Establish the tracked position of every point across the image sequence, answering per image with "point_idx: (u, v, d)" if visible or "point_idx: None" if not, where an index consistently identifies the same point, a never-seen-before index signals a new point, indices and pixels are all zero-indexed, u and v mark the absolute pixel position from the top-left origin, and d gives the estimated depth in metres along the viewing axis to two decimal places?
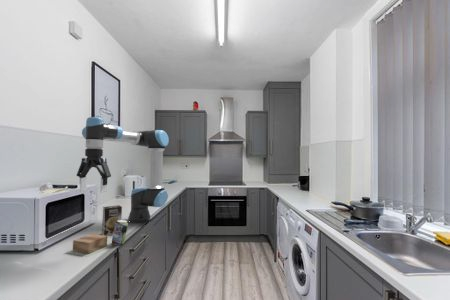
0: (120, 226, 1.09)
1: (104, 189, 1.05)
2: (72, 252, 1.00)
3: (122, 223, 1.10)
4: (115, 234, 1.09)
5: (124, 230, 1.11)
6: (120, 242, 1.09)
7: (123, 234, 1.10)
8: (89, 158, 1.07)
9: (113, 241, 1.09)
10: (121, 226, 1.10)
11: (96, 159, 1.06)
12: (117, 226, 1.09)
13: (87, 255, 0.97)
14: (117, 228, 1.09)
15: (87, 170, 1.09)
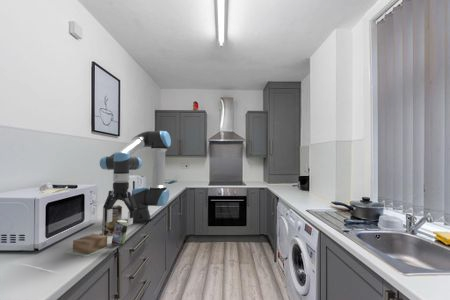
0: (120, 226, 1.09)
1: (131, 221, 1.10)
2: (72, 252, 1.00)
3: (122, 223, 1.10)
4: (115, 234, 1.09)
5: (124, 230, 1.11)
6: (120, 242, 1.09)
7: (123, 234, 1.10)
8: (116, 191, 1.12)
9: (113, 241, 1.09)
10: (121, 226, 1.10)
11: (123, 192, 1.11)
12: (117, 226, 1.09)
13: (87, 255, 0.97)
14: (117, 228, 1.09)
15: (114, 202, 1.14)
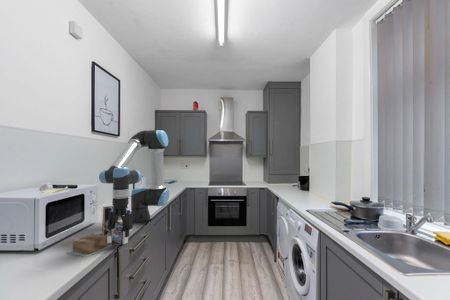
0: (120, 226, 1.09)
1: (126, 240, 1.10)
2: (72, 252, 1.00)
3: (122, 223, 1.10)
4: (115, 234, 1.09)
5: None
6: (120, 242, 1.09)
7: None
8: (115, 206, 1.12)
9: (113, 241, 1.09)
10: (121, 226, 1.10)
11: (123, 208, 1.10)
12: (117, 226, 1.09)
13: (87, 255, 0.97)
14: (117, 228, 1.09)
15: (116, 219, 1.13)
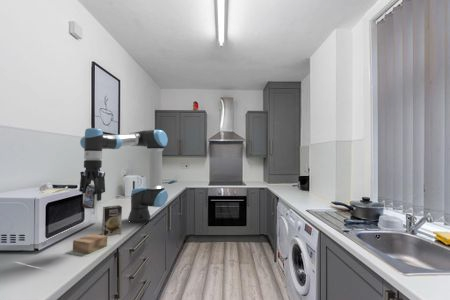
0: (91, 189, 1.04)
1: (98, 204, 1.05)
2: (72, 252, 1.00)
3: (94, 186, 1.04)
4: (86, 197, 1.03)
5: None
6: (91, 206, 1.03)
7: None
8: (87, 169, 1.06)
9: (84, 205, 1.03)
10: (92, 189, 1.04)
11: (95, 171, 1.04)
12: (88, 189, 1.03)
13: (87, 255, 0.97)
14: (88, 191, 1.03)
15: (88, 183, 1.07)
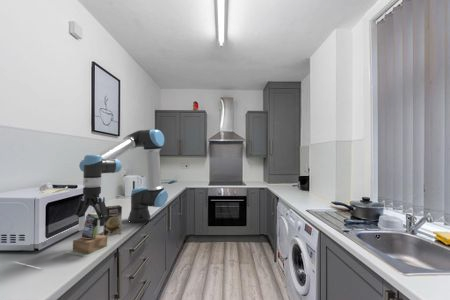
0: (91, 218, 1.03)
1: (101, 230, 1.03)
2: (72, 252, 1.00)
3: (93, 215, 1.04)
4: (85, 227, 1.02)
5: (95, 223, 1.04)
6: (91, 235, 1.03)
7: (94, 227, 1.04)
8: (87, 196, 1.05)
9: (83, 234, 1.02)
10: (92, 218, 1.03)
11: (94, 198, 1.04)
12: (88, 218, 1.03)
13: (87, 255, 0.97)
14: (88, 220, 1.03)
15: (86, 208, 1.07)
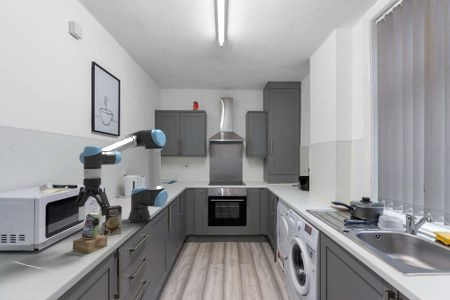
0: (91, 218, 1.03)
1: (103, 219, 1.04)
2: (72, 252, 1.00)
3: (93, 215, 1.04)
4: (85, 227, 1.02)
5: (95, 223, 1.04)
6: (91, 235, 1.03)
7: (94, 227, 1.04)
8: (87, 187, 1.06)
9: (83, 234, 1.02)
10: (92, 218, 1.03)
11: (94, 189, 1.04)
12: (88, 218, 1.03)
13: (87, 255, 0.97)
14: (88, 220, 1.03)
15: (86, 199, 1.08)
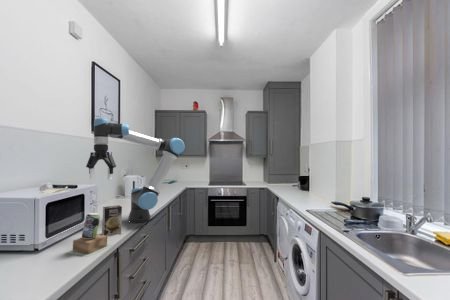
0: (91, 219, 1.03)
1: (110, 177, 1.29)
2: (72, 252, 1.00)
3: (93, 216, 1.04)
4: (85, 227, 1.02)
5: (95, 223, 1.04)
6: (91, 236, 1.02)
7: (94, 227, 1.04)
8: (97, 152, 1.31)
9: (83, 235, 1.02)
10: (92, 219, 1.03)
11: (103, 153, 1.29)
12: (87, 219, 1.03)
13: (87, 255, 0.97)
14: (87, 221, 1.03)
15: (95, 162, 1.32)
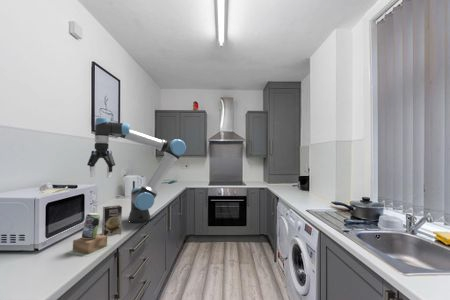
0: (91, 219, 1.03)
1: (110, 175, 1.31)
2: (72, 252, 1.00)
3: (93, 216, 1.04)
4: (85, 227, 1.02)
5: (95, 223, 1.04)
6: (91, 236, 1.02)
7: (94, 227, 1.04)
8: (97, 151, 1.34)
9: (83, 235, 1.02)
10: (92, 219, 1.03)
11: (103, 151, 1.32)
12: (87, 219, 1.03)
13: (87, 255, 0.97)
14: (87, 221, 1.03)
15: (96, 160, 1.36)
